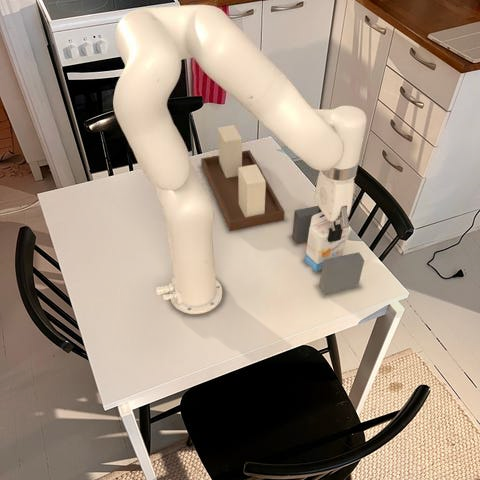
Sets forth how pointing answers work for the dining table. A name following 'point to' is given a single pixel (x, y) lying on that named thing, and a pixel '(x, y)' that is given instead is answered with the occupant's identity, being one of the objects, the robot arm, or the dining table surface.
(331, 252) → the ink box
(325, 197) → the robot arm
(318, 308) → the dining table surface
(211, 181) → the book tray
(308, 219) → the gray bookends
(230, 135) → the white books
